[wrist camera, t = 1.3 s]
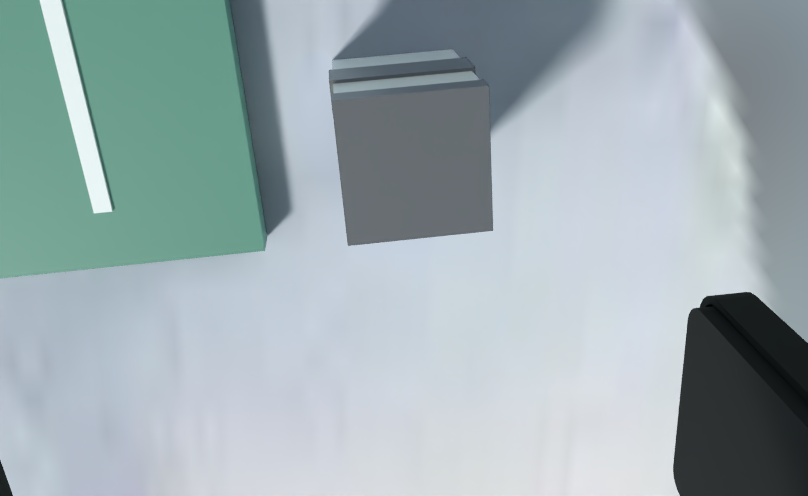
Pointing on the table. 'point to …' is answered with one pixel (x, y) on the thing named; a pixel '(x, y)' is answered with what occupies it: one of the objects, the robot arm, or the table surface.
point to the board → (122, 135)
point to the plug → (412, 146)
